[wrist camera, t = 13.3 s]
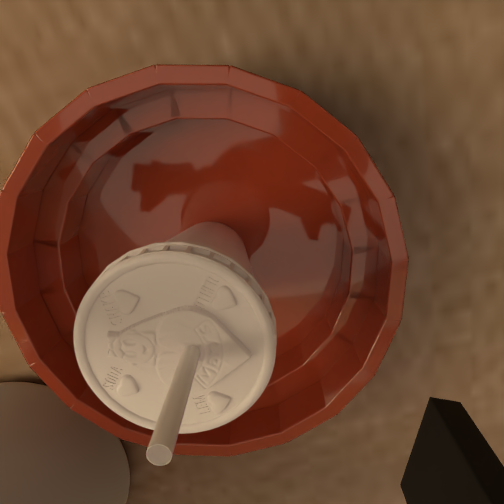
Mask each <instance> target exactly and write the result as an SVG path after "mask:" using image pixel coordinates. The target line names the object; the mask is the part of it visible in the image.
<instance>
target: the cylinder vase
mask: <svg viewBox="0 0 504 504" xmlns="http://www.w3.org/2000/svg"><path fill="white" fill-rule="evenodd" d="M129 488H130V470H129V464H128V460H127V456H126V453H125V450H124V448H123V446H122V444H121V442H120V440H119V438H117V437H116V436H114V435H112V434H111V433H109V432H107V431H106V430H104V429H102V428H101V427H99V426H97V425H96V424H94V423H92V422H91V421H89V420H88V419H86V418H84V417H83V416H81V415H79V414H78V413H76V412H74V411H73V410H71V409H70V408H69V407H67V406H66V405H65V403H64V402H63V401H62V400H61V399H60V398H59V397H58V396H57V395H56V394H55V393H54V392H53V391H52V390H51V389H50V388H49V387H48V386H45V385H41V384H35V383H28V382H1V383H0V504H126V502H127V498H128V494H129Z"/></svg>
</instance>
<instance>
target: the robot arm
mask: <svg viewBox="0 0 504 504" xmlns="http://www.w3.org/2000/svg"><path fill="white" fill-rule="evenodd" d="M400 485H401V488H402V491H403V494H404V496H405V499H406V502H407V504H504V466H503V465H502V463H501V462H500V460H499V459H498V457H497V456H496V454H495V453H494V451H493V450H492V448H491V447H490V446H489V444H488V443H487V441H486V440H485V438H484V437H483V435H482V434H481V432H480V431H479V429H478V428H477V426H476V425H475V423H474V422H473V420H472V419H471V417H470V416H469V414H468V413H467V411H466V410H465V408H464V407H463V406H462V404H461V403H460V402H456V401H450V400H444V399H438V398H432V397H430V398H429V401H428V404H427V407H426V410H425V413H424V416H423V419H422V422H421V425H420V428H419V431H418V434H417V437H416V440H415V443H414V446H413V449H412V452H411V455H410V457H409V460H408V463H407V466H406V469H405V472H404V475H403V478H402V481H401V484H400Z"/></svg>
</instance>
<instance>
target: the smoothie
mask: <svg viewBox="0 0 504 504" xmlns="http://www.w3.org/2000/svg"><path fill="white" fill-rule="evenodd" d="M73 341H74V350H75V355H76V359H77V362H78V365H79V368H80V370H81V372H82V375H83V377H84V378H85V380H86V382H87V384H88V385H89V386H90V388H91V389H92V391H93V392H94V393H95V394H96V396H97V397H98V398H99V399H100V400H101V401H102V402H103V403H104V404H105V405H106V406H108V407H109V408H110V409H111V410H112V411H114V412H115V413H117V414H118V415H120V416H121V417H123V418H125V419H126V420H128V421H130V422H132V423H135V424H137V425H139V426H142V427H145V428H148V429H151V430H154V432H153V434H152V437H151V440H150V443H149V445H148V448H147V451H146V457H147V459H148V461H149V462H151V463H152V464H154V465H158V466H162V465H166V464H168V463H169V462H170V461H171V459H172V455H173V452H174V448H175V444H176V441H177V437H178V433H179V434H184V433H196V432H202V431H207V430H211V429H214V428H217V427H220V426H222V425H225V424H227V423H229V422H231V421H233V420H234V419H236V418H237V417H239V416H240V415H242V414H243V413H244V412H246V411H247V410H248V409H249V408H250V407H251V406H252V405H253V404H254V403H255V402H256V401H257V400H258V398H259V397H260V396H261V394H262V393H263V391H264V390H265V388H266V386H267V384H268V382H269V380H270V377H271V375H272V372H273V368H274V364H275V357H276V346H277V334H276V319H275V316H274V313H273V311H272V308H271V305H270V302H269V299H268V297H267V295H266V294H265V292H264V291H263V289H262V288H261V287H260V285H259V284H258V282H257V281H256V279H255V278H254V276H253V273H252V270H251V266H250V263H249V259H248V256H247V253H246V249H245V246H244V243H243V241H242V239H241V238H240V236H239V235H238V234H237V233H236V232H235V231H234V230H233V229H231V228H230V227H228V226H226V225H224V224H221V223H217V222H202V223H198V224H196V225H194V226H192V227H190V228H188V229H187V230H185V231H183V232H181V233H180V234H178V235H176V236H174V237H173V238H171V239H169V240H168V241H166V242H163V243H153V244H150V245H147V246H143V247H140V248H137V249H134V250H131V251H129V252H127V253H126V254H124V255H123V256H121V257H120V258H118V259H117V260H115V261H114V262H112V263H111V264H109V265H108V266H107V267H106V268H105V270H104V271H103V272H102V273H101V274H100V276H99V277H98V278H97V279H96V280H95V282H94V283H93V284H92V286H91V287H90V288H89V289H88V291H87V293H86V294H85V296H84V297H83V299H82V301H81V303H80V305H79V308H78V311H77V314H76V318H75V323H74V331H73Z"/></svg>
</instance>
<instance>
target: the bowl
mask: <svg viewBox="0 0 504 504" xmlns="http://www.w3.org/2000/svg"><path fill="white" fill-rule="evenodd" d="M202 222H217V223H221V224H224V225H226V226H228V227H230V228H231V229H233V230H234V231H235V232H236V233H237V234H238V235H239V236H240V238H241V239H242V241H243V243H244V246H245V249H246V253H247V256H248V259H249V263H250V266H251V270H252V273H253V276H254V278H255V279H256V281H257V282H258V284H259V285H260V287H261V288H262V289H263V291H264V292H265V294H266V295H267V297H268V299H269V302H270V305H271V308H272V311H273V313H274V316H275V319H276V334H277V346H276V357H275V364H274V368H273V372H272V375H271V377H270V380H269V382H268V384H267V386H266V388H265V390H264V391H263V393H262V394H261V396H260V397H259V398H258V400H257V401H256V402H255V403H254V404H253V405H252V406H251V407H250V408H249V409H248V410H247V411H246V412H244V413H243V414H242V415H240V416H239V417H237V418H236V419H234V420H233V421H231V422H229V423H227V424H225V425H222V426H220V427H217V428H214V429H211V430H207V431H202V432H196V433H184V434H179V433H178V437H177V441H176V444H175V448H174V452H173V454H174V453H175V455H198V456H231V455H232V456H235V455H239V454H244V453H248V452H252V451H256V450H260V449H265V448H269V447H273V446H277V445H281V444H285V443H286V442H290V441H291V440H293V439H295V438H297V437H298V436H300V435H302V434H304V433H306V432H307V431H309V430H311V429H313V428H314V427H316V426H318V425H320V424H322V423H323V422H325V421H327V420H329V419H330V418H332V417H334V416H335V415H337V414H338V413H339V412H340V411H341V410H342V409H343V408H344V407H345V406H346V405H347V404H348V403H349V402H350V401H351V400H352V399H353V398H354V397H355V395H356V394H357V393H358V392H359V391H360V390H361V389H362V388H363V387H364V386H365V385H366V384H367V383H368V382H369V381H370V380H371V379H372V378H373V377H374V376H375V373H376V372H377V370H378V368H379V366H380V364H381V362H382V360H383V358H384V356H385V353H386V351H387V349H388V347H389V345H390V343H391V341H392V339H393V337H394V335H395V333H396V331H397V329H398V326H399V324H400V322H401V320H402V312H403V304H404V295H405V287H406V279H407V270H408V262H409V260H408V259H409V257H408V253H407V248H406V244H405V240H404V235H403V231H402V226H401V222H400V217H399V213H398V208H397V204H396V199H395V196H394V195H393V192H392V191H391V189H390V187H389V186H388V184H387V183H386V181H385V179H384V178H383V176H382V175H381V173H380V171H379V170H378V168H377V167H376V165H375V163H374V162H373V160H372V159H371V157H370V155H369V154H368V152H367V151H366V149H365V147H364V146H363V144H362V143H361V141H360V139H359V138H358V137H357V135H356V134H354V133H353V132H352V131H351V130H349V129H348V128H347V127H346V126H344V125H343V124H342V123H341V122H339V121H338V120H337V119H336V118H334V117H333V116H332V115H331V114H329V113H328V112H327V111H326V110H324V109H323V108H322V107H321V106H320V105H318V104H317V103H316V102H315V101H313V100H312V99H311V98H310V97H308V96H307V95H306V94H305V93H303V92H302V91H300V90H298V89H295V88H293V87H290V86H287V85H284V84H281V83H279V82H276V81H273V80H270V79H267V78H265V77H262V76H259V75H256V74H254V73H251V72H248V71H245V70H242V69H240V68H237V67H234V66H229V65H160V64H157V65H152V66H149V67H146V68H143V69H140V70H138V71H135V72H132V73H129V74H126V75H123V76H121V77H118V78H115V79H112V80H109V81H106V82H104V83H101V84H98V85H95V86H92V87H89V88H87V90H85V91H83V92H82V93H81V94H80V95H79V96H77V97H76V98H75V99H74V100H73V101H71V102H70V103H69V104H68V105H67V106H65V107H64V108H63V109H62V110H61V111H59V112H58V113H57V114H56V115H55V116H53V117H52V118H51V119H50V120H49V121H47V122H46V123H45V124H44V125H43V126H41V127H40V128H39V129H38V130H37V131H35V134H33V135H32V137H31V139H30V140H29V142H28V144H27V146H26V147H25V149H24V151H23V153H22V155H21V156H20V158H19V160H18V162H17V163H16V165H15V167H14V169H13V170H12V172H11V174H10V176H9V177H8V179H7V181H6V183H5V184H4V186H3V188H2V190H1V193H0V310H1V312H2V315H3V317H4V319H5V321H6V323H7V325H8V327H9V329H10V330H11V332H12V334H13V336H14V338H15V340H16V342H17V344H18V346H19V348H20V350H21V352H22V354H23V356H24V358H25V360H26V362H27V363H28V365H29V366H30V368H31V369H32V370H33V371H34V372H35V373H36V374H37V375H38V376H39V377H40V378H41V379H42V380H43V381H44V382H45V383H46V385H47V386H48V387H49V388H50V389H51V390H52V391H53V392H54V393H55V394H56V395H57V396H58V397H59V398H60V399H61V400H62V401H63V402H64V403H65V405H66V406H67V407H69V408H70V409H71V410H73V411H74V412H76V413H78V414H79V415H81V416H83V417H84V418H86V419H88V420H89V421H91V422H92V423H94V424H96V425H97V426H99V427H101V428H102V429H104V430H106V431H107V432H109V433H111V434H112V435H114V436H116V437H117V438H119V437H120V439H122V440H126V441H129V442H133V443H136V444H139V445H143V446H146V447H148V445H149V443H150V440H151V437H152V434H153V432H154V430H151V429H148V428H145V427H142V426H139V425H137V424H135V423H132V422H130V421H128V420H126V419H125V418H123V417H121V416H120V415H118V414H117V413H115V412H114V411H112V410H111V409H110V408H109V407H108V406H106V405H105V404H104V403H103V402H102V401H101V400H100V399H99V398H98V397H97V396H96V394H95V393H94V392H93V391H92V389H91V388H90V386H89V385H88V384H87V382H86V380H85V378H84V377H83V375H82V372H81V370H80V368H79V365H78V362H77V359H76V355H75V350H74V341H73V331H74V323H75V318H76V314H77V311H78V308H79V305H80V303H81V301H82V299H83V297H84V296H85V294H86V293H87V291H88V289H89V288H90V287H91V286H92V284H93V283H94V282H95V280H96V279H97V278H98V277H99V276H100V274H101V273H102V272H103V271H104V270H105V268H106V267H107V266H108V265H109V264H111V263H112V262H114V261H115V260H117V259H118V258H120V257H121V256H123V255H124V254H126V253H127V252H129V251H131V250H134V249H137V248H140V247H143V246H147V245H150V244H153V243H163V242H166V241H168V240H169V239H171V238H173V237H174V236H176V235H178V234H180V233H181V232H183V231H185V230H187V229H188V228H190V227H192V226H194V225H196V224H198V223H202Z"/></svg>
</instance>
